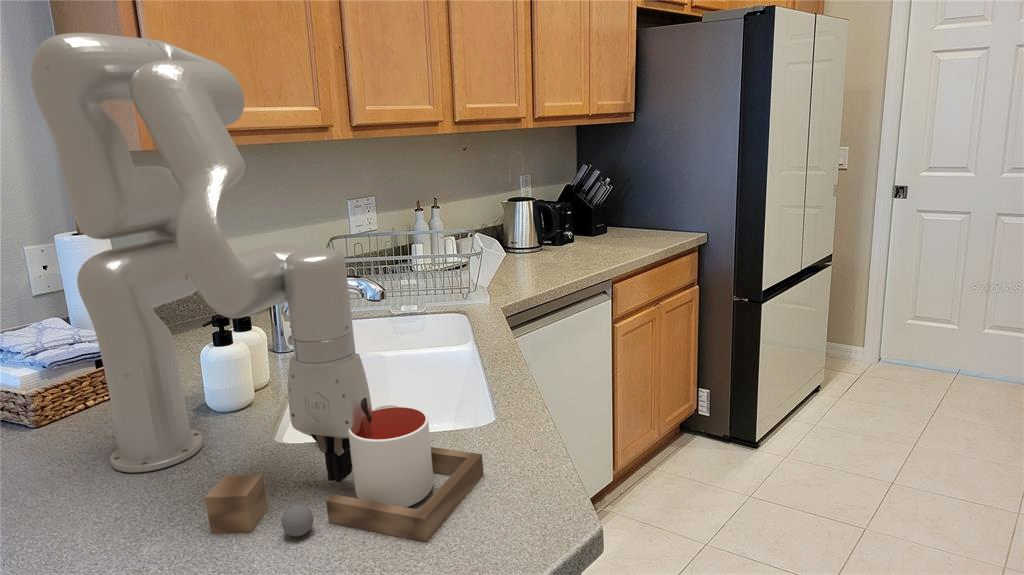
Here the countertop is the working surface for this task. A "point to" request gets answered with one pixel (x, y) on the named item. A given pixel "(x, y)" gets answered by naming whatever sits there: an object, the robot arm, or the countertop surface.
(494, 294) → the countertop surface
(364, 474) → the cup
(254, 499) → the walnut block
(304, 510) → the grey ball
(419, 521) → the bay
